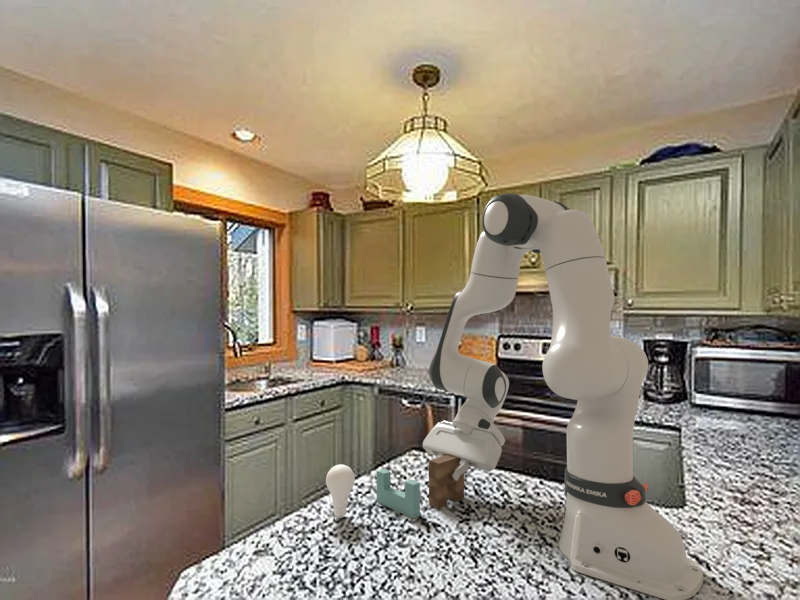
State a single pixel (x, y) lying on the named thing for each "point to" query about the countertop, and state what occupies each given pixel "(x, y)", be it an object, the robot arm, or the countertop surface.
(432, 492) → the brown arch block
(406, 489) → the teal bracket
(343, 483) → the lightbulb
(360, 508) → the countertop surface
